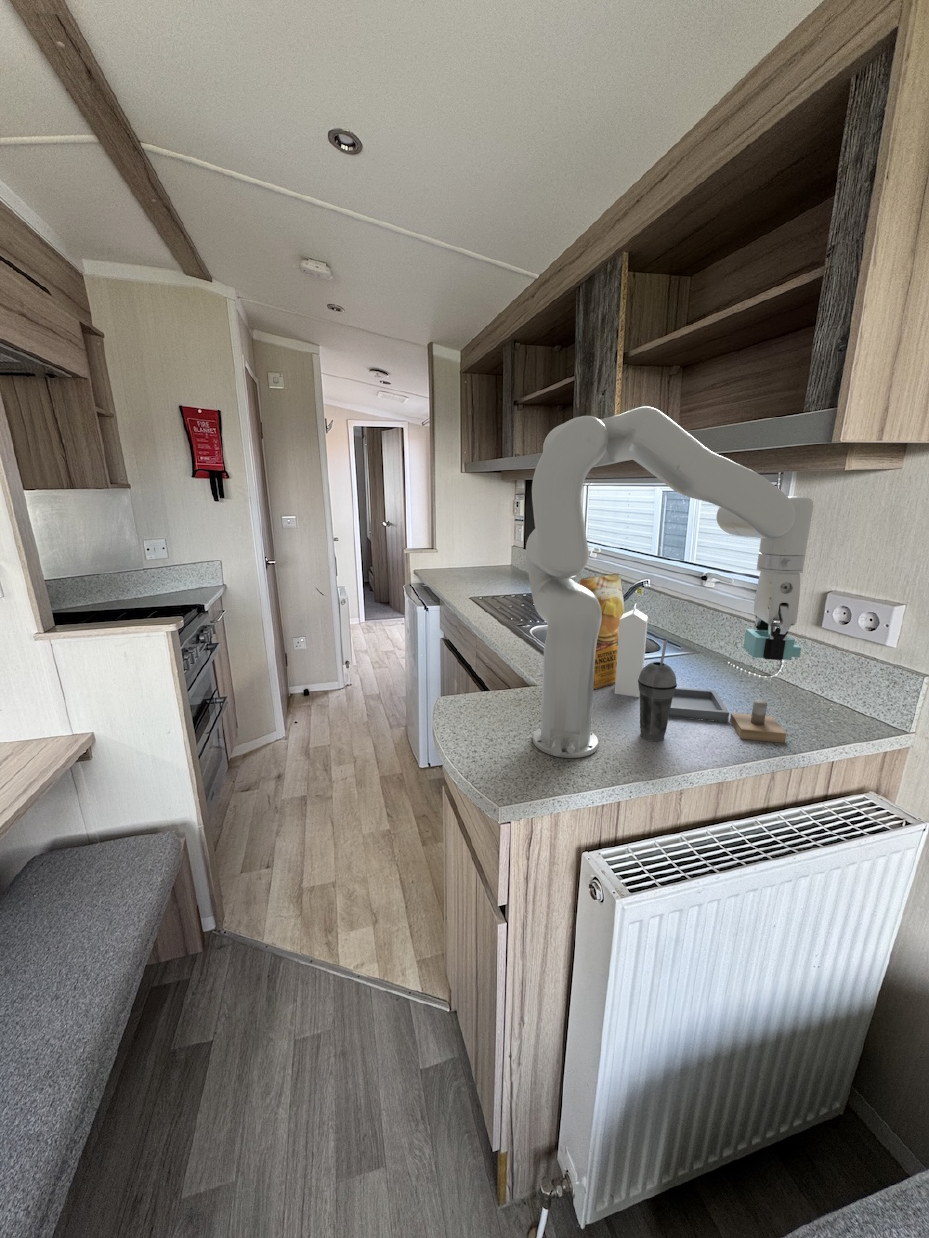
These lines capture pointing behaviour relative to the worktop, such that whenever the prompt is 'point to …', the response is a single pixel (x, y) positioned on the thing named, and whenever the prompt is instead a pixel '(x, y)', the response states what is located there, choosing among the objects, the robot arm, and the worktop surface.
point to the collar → (756, 644)
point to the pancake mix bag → (606, 625)
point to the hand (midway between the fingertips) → (766, 652)
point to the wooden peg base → (758, 724)
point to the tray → (698, 705)
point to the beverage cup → (656, 698)
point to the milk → (630, 652)
